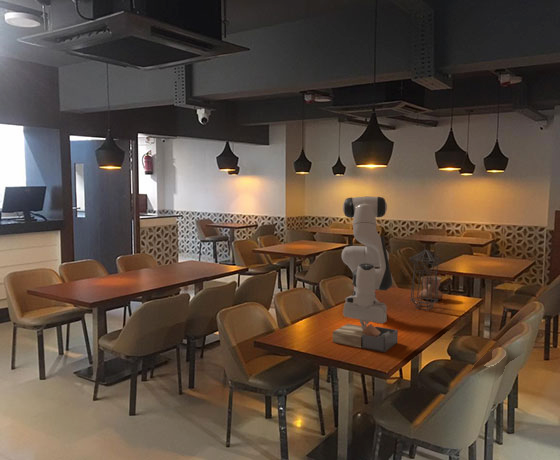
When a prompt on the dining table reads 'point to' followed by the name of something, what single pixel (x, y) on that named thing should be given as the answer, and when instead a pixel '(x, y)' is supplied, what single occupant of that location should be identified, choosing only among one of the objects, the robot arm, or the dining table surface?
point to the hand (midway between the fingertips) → (364, 329)
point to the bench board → (349, 335)
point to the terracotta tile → (371, 331)
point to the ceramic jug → (424, 292)
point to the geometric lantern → (427, 277)
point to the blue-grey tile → (385, 335)
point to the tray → (380, 340)
